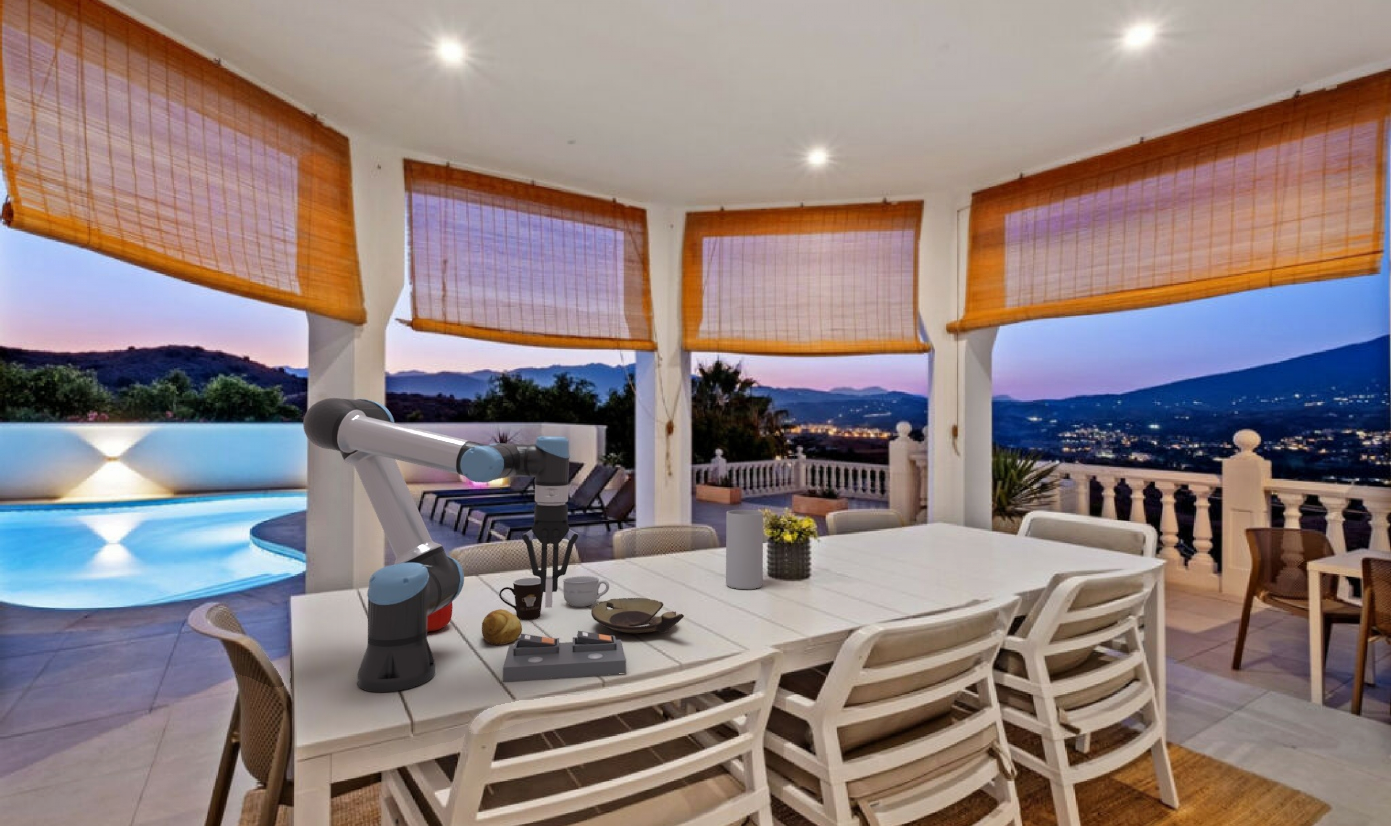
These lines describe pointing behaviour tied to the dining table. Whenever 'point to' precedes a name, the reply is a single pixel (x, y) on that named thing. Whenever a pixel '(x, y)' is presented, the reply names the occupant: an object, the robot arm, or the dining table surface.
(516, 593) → the coffee mug
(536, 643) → the left rocker
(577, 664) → the rocker switch box
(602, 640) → the right rocker
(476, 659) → the dining table surface
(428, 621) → the tomato
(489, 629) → the bread roll
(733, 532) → the cylinder vase
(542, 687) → the dining table surface
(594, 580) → the teacup
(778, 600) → the dining table surface
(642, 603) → the oil lamp
